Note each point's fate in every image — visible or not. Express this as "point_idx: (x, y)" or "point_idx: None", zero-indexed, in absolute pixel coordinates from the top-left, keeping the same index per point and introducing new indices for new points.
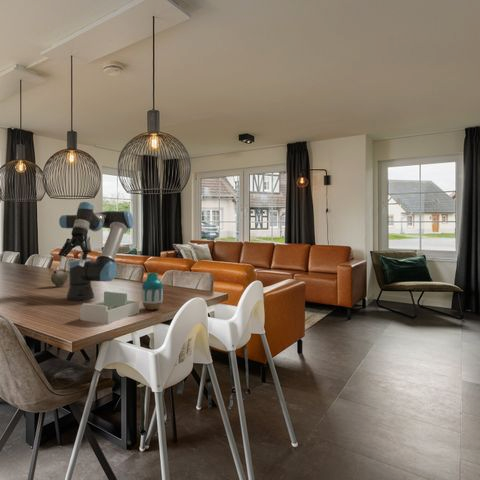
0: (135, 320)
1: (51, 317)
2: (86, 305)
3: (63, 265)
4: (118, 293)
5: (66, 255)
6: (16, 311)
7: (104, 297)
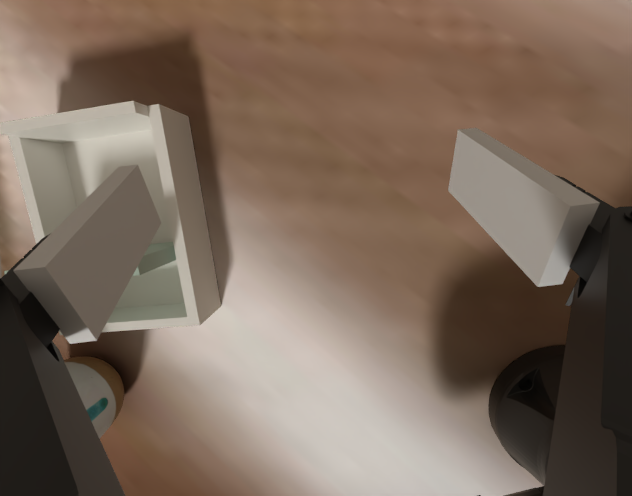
0: (24, 226)
1: (334, 75)
2: (111, 106)
3: (469, 193)
4: None
5: (574, 303)
6: (609, 47)
7: (151, 252)
